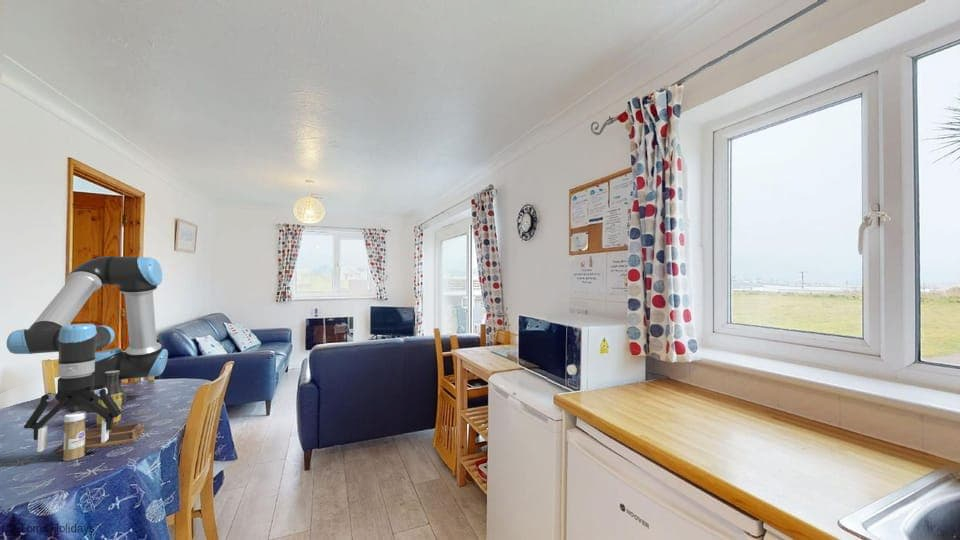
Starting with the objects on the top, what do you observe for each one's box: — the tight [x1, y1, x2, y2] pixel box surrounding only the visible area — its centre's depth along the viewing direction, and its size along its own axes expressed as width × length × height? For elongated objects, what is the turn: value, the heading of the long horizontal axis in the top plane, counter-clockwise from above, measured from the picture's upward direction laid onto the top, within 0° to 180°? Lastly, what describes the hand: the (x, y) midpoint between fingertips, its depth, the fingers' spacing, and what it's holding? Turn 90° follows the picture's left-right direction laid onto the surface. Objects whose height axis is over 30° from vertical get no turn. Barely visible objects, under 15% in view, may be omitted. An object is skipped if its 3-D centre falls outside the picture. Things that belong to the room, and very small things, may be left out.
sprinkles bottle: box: [62, 411, 87, 462], centre depth 109 cm, size 5×5×14 cm
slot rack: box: [55, 422, 148, 455], centre depth 120 cm, size 12×18×3 cm, turn 117°
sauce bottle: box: [96, 371, 123, 429], centre depth 132 cm, size 6×6×20 cm
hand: (74, 445), depth 109 cm, fingers open, 13 cm apart
